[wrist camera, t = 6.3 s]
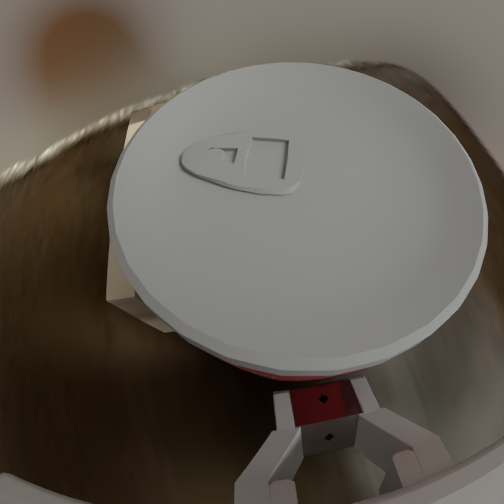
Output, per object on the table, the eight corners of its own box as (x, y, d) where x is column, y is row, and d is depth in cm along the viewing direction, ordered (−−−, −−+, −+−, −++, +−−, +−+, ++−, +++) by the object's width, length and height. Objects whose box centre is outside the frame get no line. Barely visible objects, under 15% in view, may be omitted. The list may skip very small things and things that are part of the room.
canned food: (209, 252, 17) (131, 87, 7) (347, 231, 17) (399, 59, 7) (221, 391, 14) (88, 392, 4) (378, 365, 13) (538, 306, 3)
